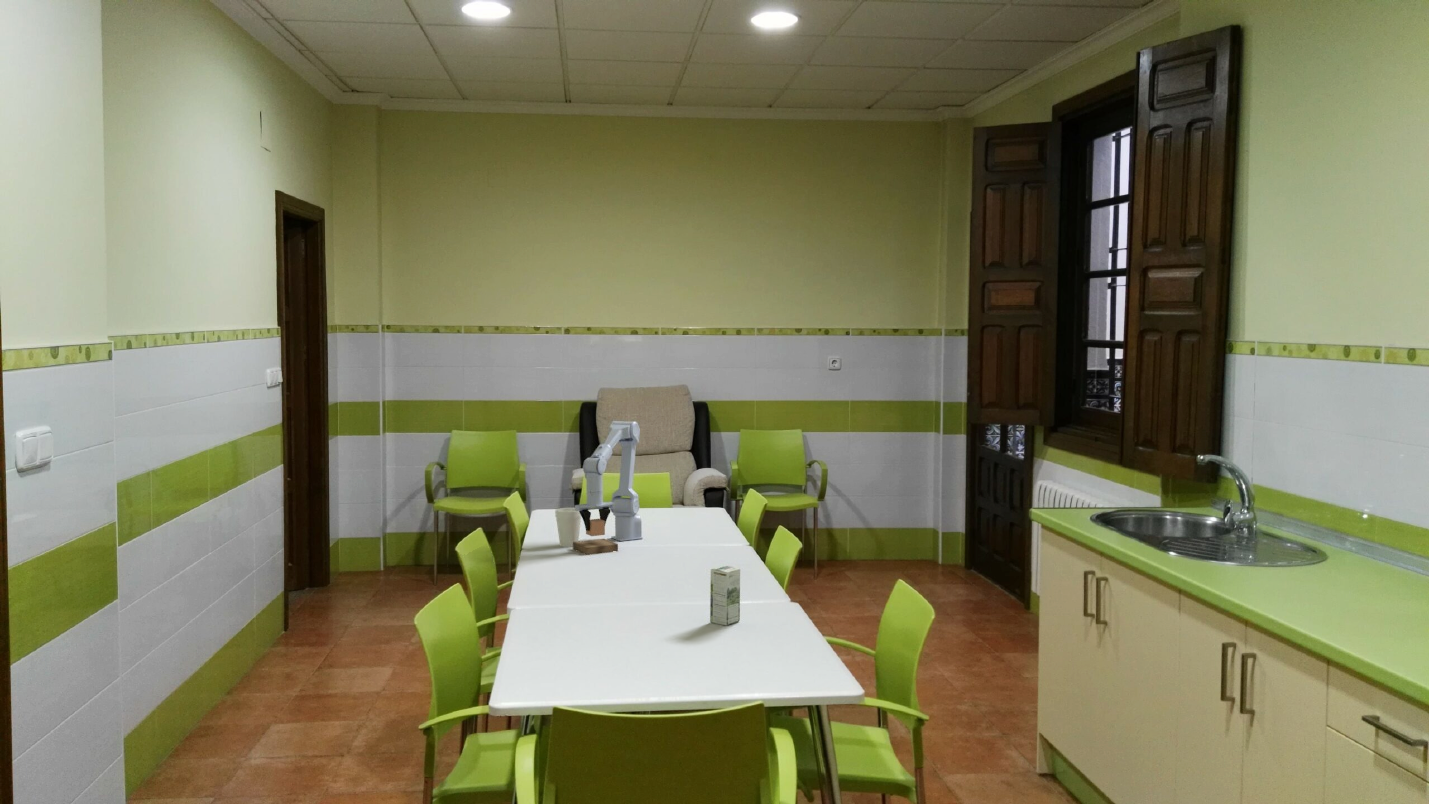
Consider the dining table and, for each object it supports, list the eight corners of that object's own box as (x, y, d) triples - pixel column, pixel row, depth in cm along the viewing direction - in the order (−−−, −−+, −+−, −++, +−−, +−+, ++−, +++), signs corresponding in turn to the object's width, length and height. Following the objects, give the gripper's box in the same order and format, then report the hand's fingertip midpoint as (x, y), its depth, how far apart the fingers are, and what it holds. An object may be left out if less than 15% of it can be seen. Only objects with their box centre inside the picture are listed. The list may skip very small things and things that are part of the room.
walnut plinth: (603, 546, 383) (603, 538, 383) (617, 552, 373) (617, 544, 373) (573, 550, 377) (572, 541, 377) (586, 556, 367) (586, 547, 367)
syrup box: (723, 617, 284) (723, 564, 283) (740, 621, 280) (740, 567, 279) (709, 622, 280) (709, 568, 279) (727, 626, 276) (727, 571, 275)
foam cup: (579, 547, 379) (579, 511, 378) (554, 547, 379) (553, 511, 378) (583, 542, 388) (583, 507, 388) (558, 542, 389) (558, 507, 388)
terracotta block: (598, 532, 378) (598, 518, 378) (604, 534, 374) (604, 520, 373) (586, 533, 375) (585, 520, 375) (591, 536, 371) (591, 522, 371)
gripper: (580, 494, 367) (580, 533, 367) (618, 491, 374) (618, 529, 375) (572, 492, 373) (572, 530, 373) (609, 488, 380) (610, 526, 381)
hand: (595, 529), depth 374 cm, fingers closed on terracotta block, 5 cm apart
